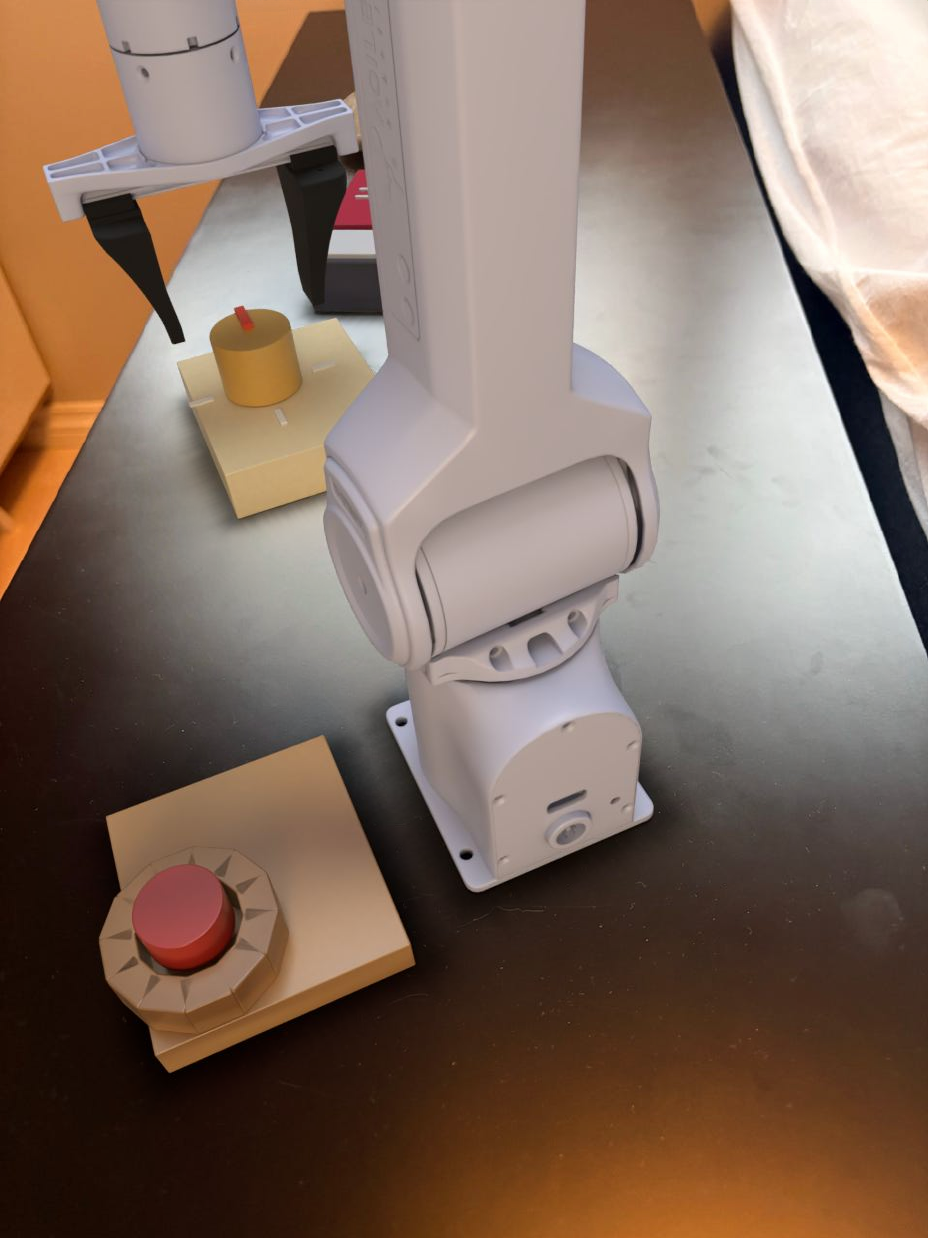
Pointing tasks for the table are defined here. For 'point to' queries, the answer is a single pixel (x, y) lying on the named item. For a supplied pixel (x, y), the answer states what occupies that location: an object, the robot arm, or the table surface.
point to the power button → (184, 917)
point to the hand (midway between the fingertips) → (245, 315)
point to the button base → (254, 902)
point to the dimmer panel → (278, 420)
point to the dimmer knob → (256, 356)
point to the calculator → (352, 255)
